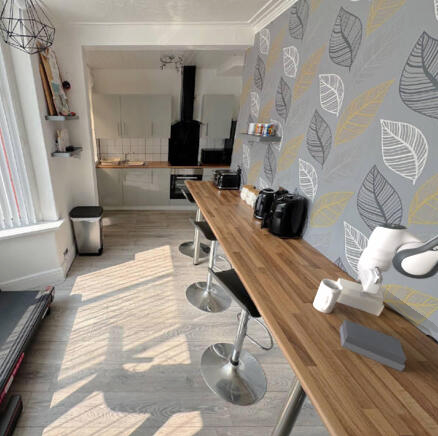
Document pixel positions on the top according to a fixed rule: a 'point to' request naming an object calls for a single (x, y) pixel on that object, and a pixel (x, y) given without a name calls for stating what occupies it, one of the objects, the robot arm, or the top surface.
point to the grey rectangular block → (372, 344)
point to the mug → (327, 295)
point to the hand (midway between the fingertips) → (360, 289)
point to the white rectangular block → (360, 303)
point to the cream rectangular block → (359, 290)
